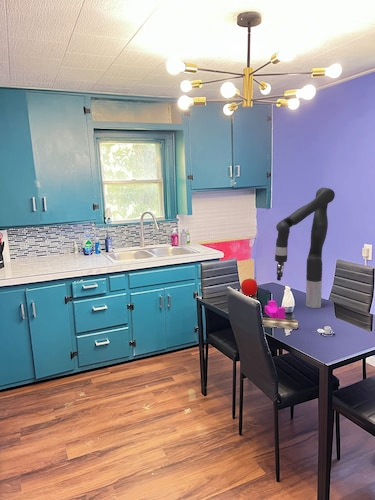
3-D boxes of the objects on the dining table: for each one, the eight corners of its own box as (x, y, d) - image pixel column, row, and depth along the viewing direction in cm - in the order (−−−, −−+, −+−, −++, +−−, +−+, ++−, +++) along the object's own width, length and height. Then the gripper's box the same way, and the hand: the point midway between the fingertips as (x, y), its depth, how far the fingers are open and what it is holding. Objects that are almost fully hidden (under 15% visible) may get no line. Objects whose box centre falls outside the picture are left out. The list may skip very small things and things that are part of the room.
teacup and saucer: (315, 332, 200) (315, 325, 199) (326, 330, 203) (327, 323, 202) (326, 338, 192) (326, 331, 191) (338, 336, 195) (338, 328, 194)
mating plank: (297, 327, 207) (297, 320, 207) (297, 329, 204) (297, 323, 203) (261, 323, 214) (261, 317, 214) (260, 326, 211) (260, 320, 210)
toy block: (264, 312, 232) (264, 301, 231) (274, 311, 233) (274, 300, 232) (275, 321, 218) (275, 309, 216) (284, 320, 219) (285, 308, 217)
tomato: (261, 296, 264) (261, 278, 261) (248, 299, 258) (248, 281, 255) (249, 291, 274) (249, 275, 272) (237, 295, 268) (237, 278, 266)
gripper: (286, 256, 225) (284, 282, 228) (288, 252, 238) (287, 276, 241) (273, 255, 227) (272, 280, 231) (276, 251, 240) (275, 275, 244)
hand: (279, 278), depth 236 cm, fingers open, 8 cm apart
